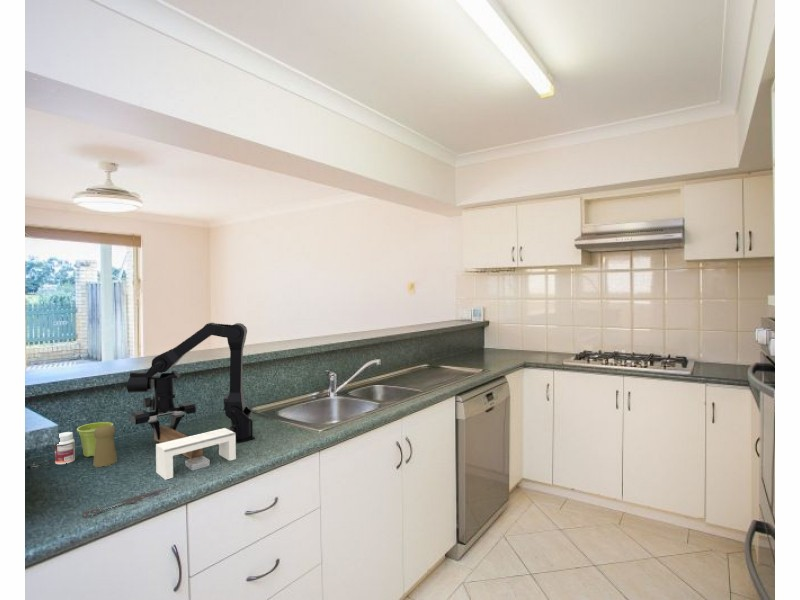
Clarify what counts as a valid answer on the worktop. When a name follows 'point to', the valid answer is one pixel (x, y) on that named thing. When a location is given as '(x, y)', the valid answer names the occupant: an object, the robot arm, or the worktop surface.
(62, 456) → the pill bottle
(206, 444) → the white bridge block
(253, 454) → the worktop surface
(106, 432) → the cork
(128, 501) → the throwing knife
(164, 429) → the walnut bar
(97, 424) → the plant pot
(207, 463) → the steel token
